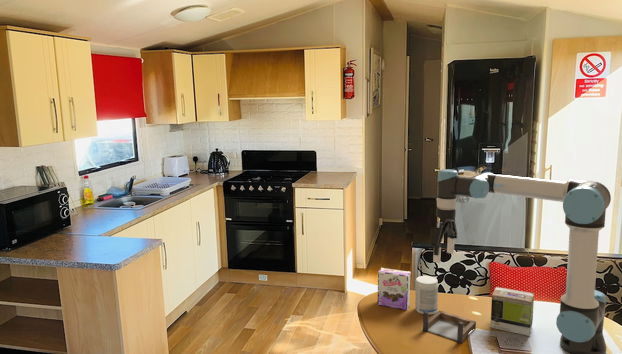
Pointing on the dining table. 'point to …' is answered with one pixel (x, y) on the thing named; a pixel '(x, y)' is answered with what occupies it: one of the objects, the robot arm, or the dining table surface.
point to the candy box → (394, 288)
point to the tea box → (512, 310)
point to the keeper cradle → (448, 326)
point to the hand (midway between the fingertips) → (443, 257)
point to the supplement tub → (426, 294)
